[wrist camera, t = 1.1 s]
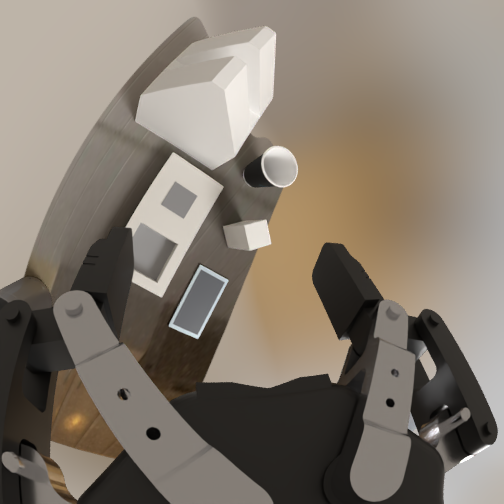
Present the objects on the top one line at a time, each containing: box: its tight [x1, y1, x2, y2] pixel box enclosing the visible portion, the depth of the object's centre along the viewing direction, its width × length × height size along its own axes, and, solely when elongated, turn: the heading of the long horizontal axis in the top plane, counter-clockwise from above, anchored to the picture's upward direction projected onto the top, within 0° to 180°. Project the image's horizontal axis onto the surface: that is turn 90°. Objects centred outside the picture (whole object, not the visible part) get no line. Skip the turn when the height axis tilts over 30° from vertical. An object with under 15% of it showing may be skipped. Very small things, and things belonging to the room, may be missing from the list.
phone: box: [168, 265, 229, 339], centre depth 54 cm, size 14×7×1 cm, turn 149°
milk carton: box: [135, 26, 276, 170], centre depth 39 cm, size 19×15×25 cm
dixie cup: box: [243, 146, 298, 187], centre depth 53 cm, size 8×8×11 cm
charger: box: [223, 220, 271, 251], centre depth 52 cm, size 5×4×10 cm
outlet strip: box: [125, 152, 224, 297], centre depth 48 cm, size 24×12×3 cm, turn 149°
